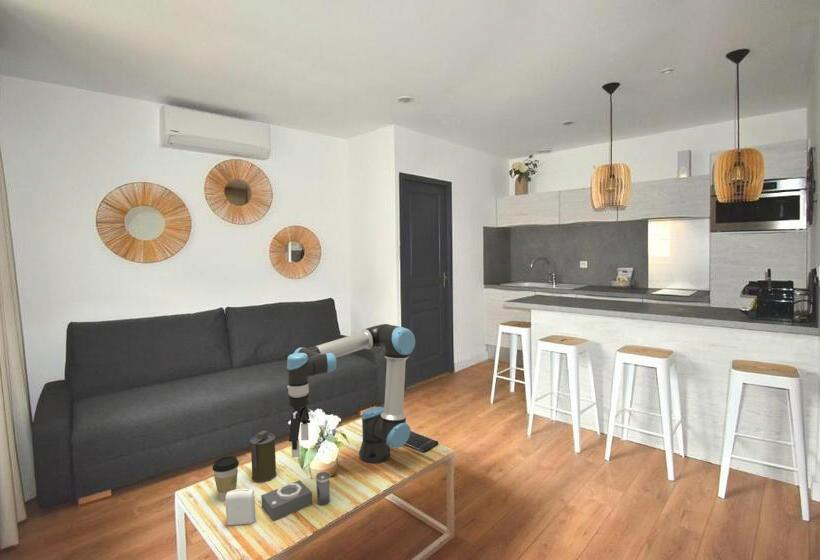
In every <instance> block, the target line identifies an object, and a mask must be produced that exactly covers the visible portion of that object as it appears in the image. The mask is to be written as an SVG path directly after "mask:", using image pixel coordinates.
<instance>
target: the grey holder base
mask: <svg viewBox="0 0 820 560" xmlns="http://www.w3.org/2000/svg"><path fill="white" fill-rule="evenodd" d="M260 497H261V508H262V509H263V511H264V512H265V513H266V515H267V516H268V517H269V519H270V520H271V521H272V522H274V521H277V520H279V519H282V518H284V517H287V516H288V515H291V514H293V513H296V512H298V511H300V510H302V509H305V508H306V507H310V506H311V505H313V491H312V490H311V489H310V488H309V487H307V486H306V484H304V482H303V481H301V480H297V481H295V482H289V483H286V484H283V485H281V486H279V487H278V488H277V489H274V490H272V491H269V492H267V493H263V494H261V495H260Z"/></svg>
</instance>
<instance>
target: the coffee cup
mask: <svg viewBox="0 0 820 560" xmlns="http://www.w3.org/2000/svg"><path fill="white" fill-rule="evenodd" d="M239 464H240V462H239V459H238V458H237V457H236V456H234V455H226V456H222V457H220V458H218V459H216V460H215V461H214V463H213V465H212V471H213V472H214V480H215V488H216V492H217V495H218V499H219V501H220V502H225V498H226V494H227V492H229V491H232V490H236V489H237V487H238V486H237V484H238V471H239V470H238V469H239V468H238V466H239Z"/></svg>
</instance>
